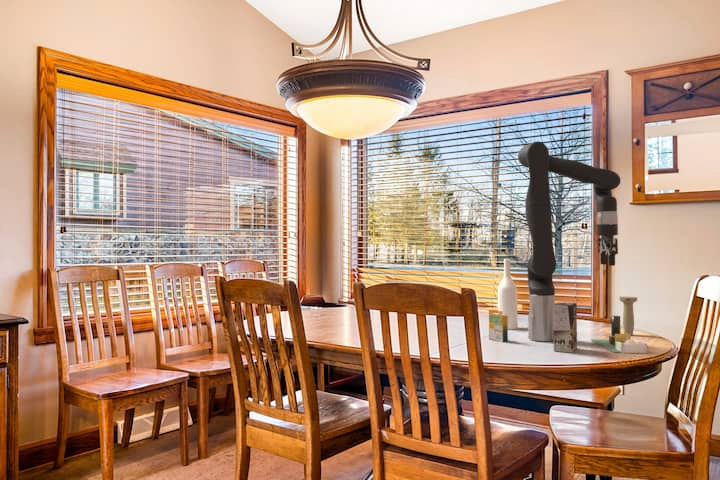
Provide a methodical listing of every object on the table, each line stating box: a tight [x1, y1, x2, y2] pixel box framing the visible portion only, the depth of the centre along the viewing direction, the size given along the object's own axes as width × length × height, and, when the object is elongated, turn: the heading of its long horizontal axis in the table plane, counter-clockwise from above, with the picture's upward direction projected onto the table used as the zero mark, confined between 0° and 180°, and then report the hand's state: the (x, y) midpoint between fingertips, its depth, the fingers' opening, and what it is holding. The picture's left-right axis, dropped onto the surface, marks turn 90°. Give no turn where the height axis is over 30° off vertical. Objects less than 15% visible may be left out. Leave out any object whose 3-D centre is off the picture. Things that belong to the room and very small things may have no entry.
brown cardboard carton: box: [608, 335, 615, 345], centre depth 195 cm, size 6×2×3 cm, turn 86°
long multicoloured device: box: [610, 315, 632, 345], centre depth 195 cm, size 8×5×9 cm, turn 176°
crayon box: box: [488, 309, 509, 343], centre depth 207 cm, size 7×3×12 cm, turn 31°
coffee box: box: [553, 302, 578, 354], centre depth 188 cm, size 9×6×16 cm
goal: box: [616, 341, 648, 354], centre depth 184 cm, size 9×4×3 cm, turn 86°
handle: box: [618, 296, 638, 336], centre depth 215 cm, size 5×6×15 cm
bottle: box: [497, 258, 519, 331], centre depth 234 cm, size 8×8×30 cm
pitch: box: [591, 339, 645, 354], centre depth 193 cm, size 11×22×1 cm, turn 176°
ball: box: [624, 338, 637, 344], centre depth 185 cm, size 4×4×4 cm
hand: (607, 265), depth 211 cm, fingers open, 8 cm apart
